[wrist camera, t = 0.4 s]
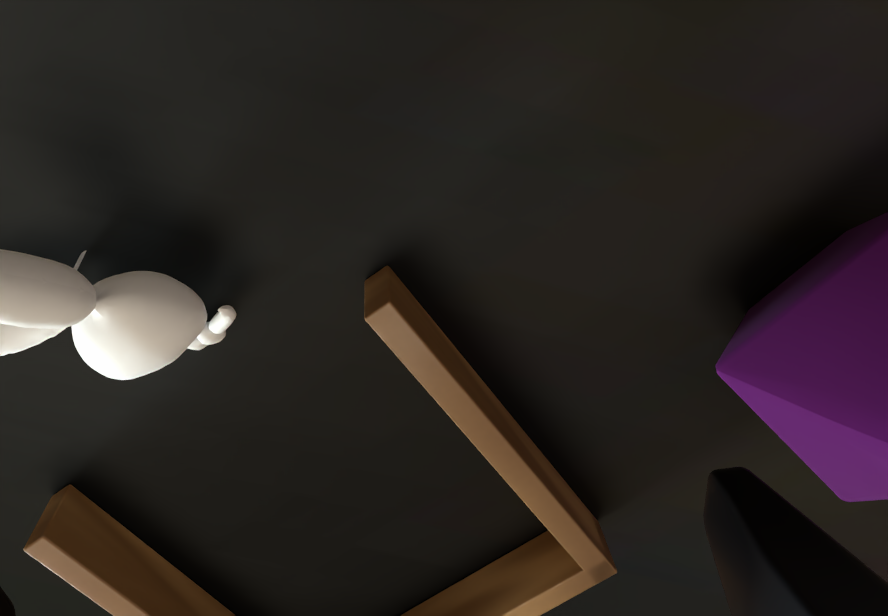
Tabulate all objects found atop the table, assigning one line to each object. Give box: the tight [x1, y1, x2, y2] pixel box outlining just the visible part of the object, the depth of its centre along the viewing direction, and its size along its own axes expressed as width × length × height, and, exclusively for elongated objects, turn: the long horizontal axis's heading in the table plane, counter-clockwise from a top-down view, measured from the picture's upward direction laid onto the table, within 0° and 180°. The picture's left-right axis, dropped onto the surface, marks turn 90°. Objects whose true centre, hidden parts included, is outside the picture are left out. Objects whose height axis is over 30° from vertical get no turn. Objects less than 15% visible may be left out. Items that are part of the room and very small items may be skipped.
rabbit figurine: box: [0, 249, 236, 380], centre depth 21 cm, size 6×4×8 cm
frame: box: [24, 266, 617, 616], centre depth 26 cm, size 14×13×2 cm
